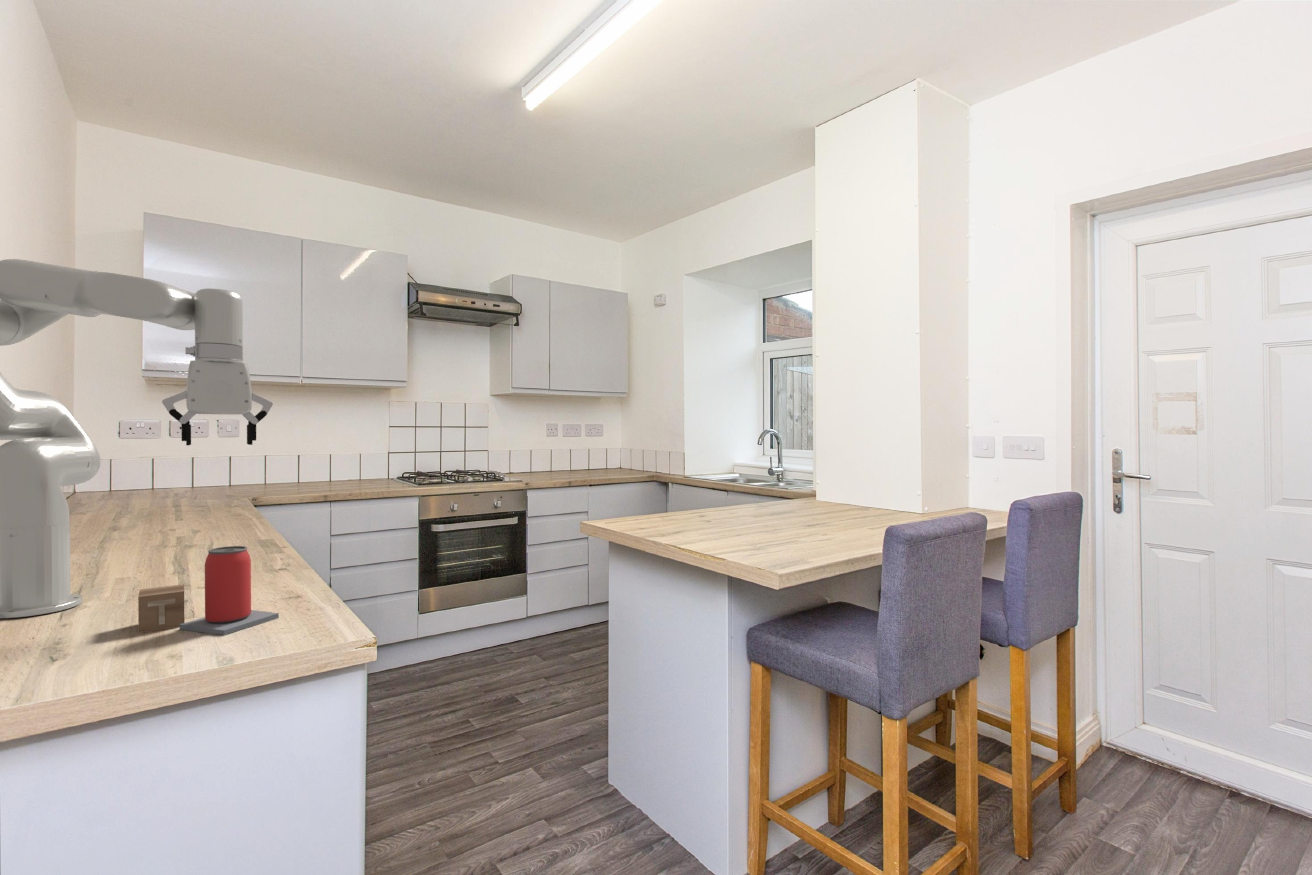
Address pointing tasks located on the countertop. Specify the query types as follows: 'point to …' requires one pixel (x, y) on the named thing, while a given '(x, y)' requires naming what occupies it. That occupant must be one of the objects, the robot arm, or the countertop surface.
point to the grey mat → (230, 627)
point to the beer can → (227, 584)
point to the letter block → (160, 608)
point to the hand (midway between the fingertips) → (219, 444)
